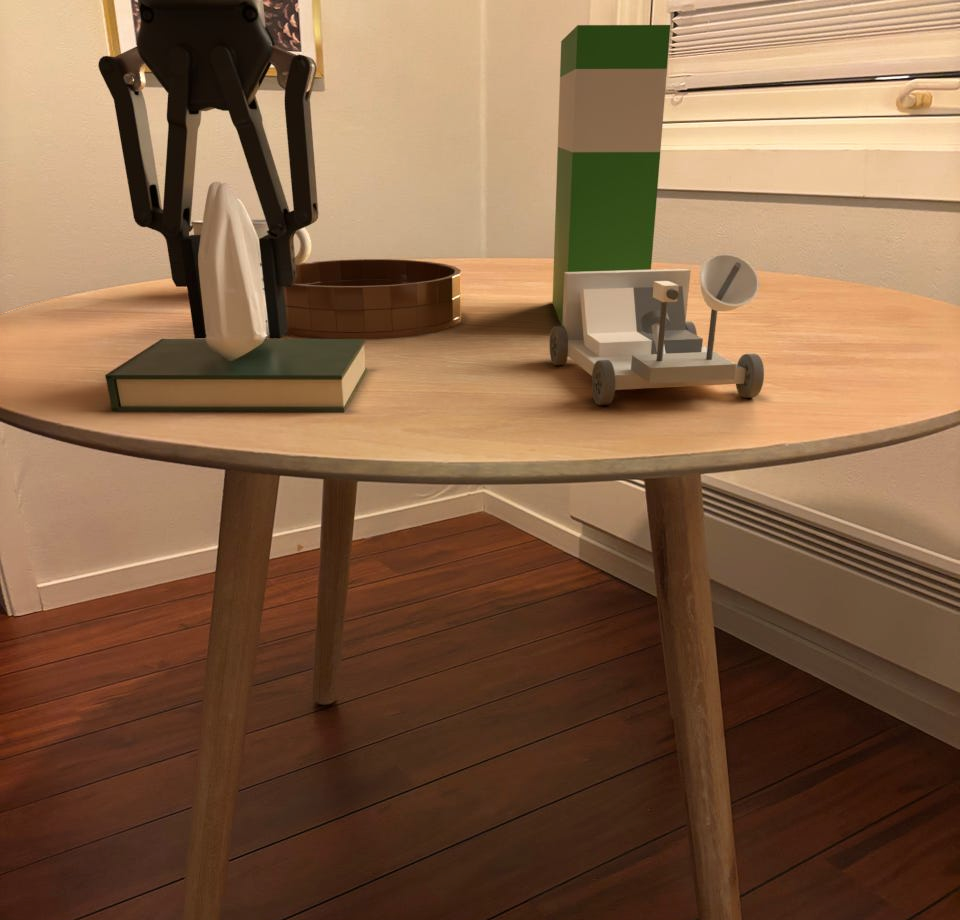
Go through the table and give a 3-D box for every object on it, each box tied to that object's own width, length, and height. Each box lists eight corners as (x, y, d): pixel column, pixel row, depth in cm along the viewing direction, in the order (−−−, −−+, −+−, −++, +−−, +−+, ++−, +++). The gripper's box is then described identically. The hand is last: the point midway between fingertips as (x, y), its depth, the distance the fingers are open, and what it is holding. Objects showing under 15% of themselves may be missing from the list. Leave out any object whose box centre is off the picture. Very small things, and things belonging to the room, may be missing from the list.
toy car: (801, 257, 59) (624, 261, 57) (778, 412, 64) (613, 421, 62) (694, 228, 75) (552, 231, 73) (682, 355, 80) (548, 360, 78)
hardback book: (552, 302, 102) (561, 41, 91) (620, 302, 102) (638, 40, 91) (565, 335, 87) (577, 25, 75) (645, 335, 87) (670, 24, 75)
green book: (111, 411, 65) (104, 374, 64) (166, 371, 75) (161, 338, 74) (344, 412, 64) (341, 375, 63) (366, 371, 75) (364, 338, 74)
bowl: (246, 339, 86) (240, 287, 84) (288, 303, 103) (284, 259, 101) (456, 339, 86) (456, 287, 83) (464, 303, 102) (464, 258, 100)
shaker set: (268, 368, 63) (249, 185, 58) (204, 370, 63) (178, 185, 58) (276, 333, 74) (260, 175, 68) (221, 334, 73) (201, 176, 68)
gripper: (19, -77, 54) (100, 345, 65) (329, -80, 53) (357, 345, 64) (72, -55, 60) (137, 324, 71) (348, -58, 60) (371, 324, 71)
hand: (241, 334), depth 68 cm, fingers closed on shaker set, 5 cm apart
